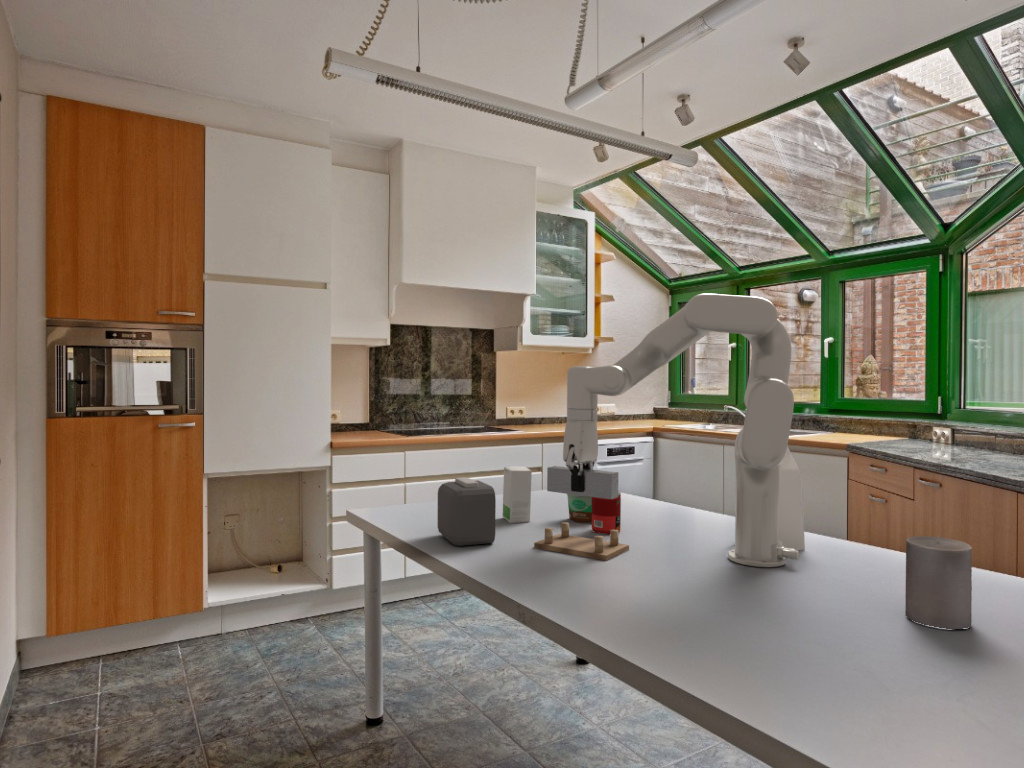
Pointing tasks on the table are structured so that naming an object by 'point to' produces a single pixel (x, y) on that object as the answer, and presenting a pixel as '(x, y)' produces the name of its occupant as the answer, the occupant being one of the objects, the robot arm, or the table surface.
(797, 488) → the milk
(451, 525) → the alarm clock
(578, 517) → the food container
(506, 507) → the skincare box
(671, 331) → the robot arm
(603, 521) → the canned food
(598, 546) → the rack
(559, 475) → the steel bar
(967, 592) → the pillar candle
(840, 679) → the table surface
